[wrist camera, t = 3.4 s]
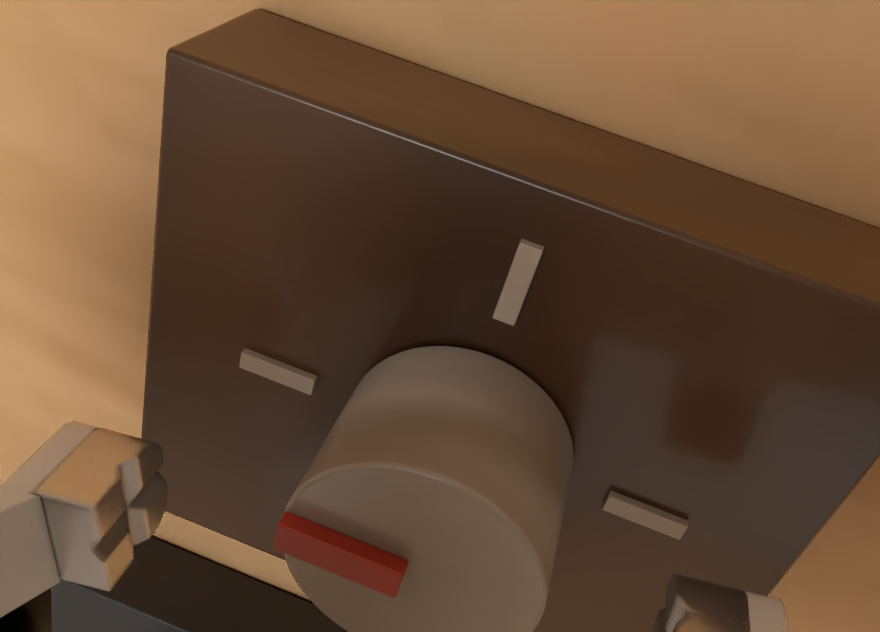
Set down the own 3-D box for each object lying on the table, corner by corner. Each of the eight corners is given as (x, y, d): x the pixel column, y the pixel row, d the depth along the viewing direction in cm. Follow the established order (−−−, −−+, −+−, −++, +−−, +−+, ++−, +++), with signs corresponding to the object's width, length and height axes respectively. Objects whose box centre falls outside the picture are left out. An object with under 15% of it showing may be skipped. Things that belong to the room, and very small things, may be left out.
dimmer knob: (610, 398, 13) (586, 554, 10) (530, 556, 15) (493, 718, 13) (375, 309, 13) (291, 437, 11) (332, 476, 16) (254, 617, 13)
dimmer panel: (925, 243, 14) (979, 346, 11) (675, 603, 19) (670, 727, 17) (256, 6, 14) (158, 49, 12) (205, 415, 20) (131, 505, 18)
